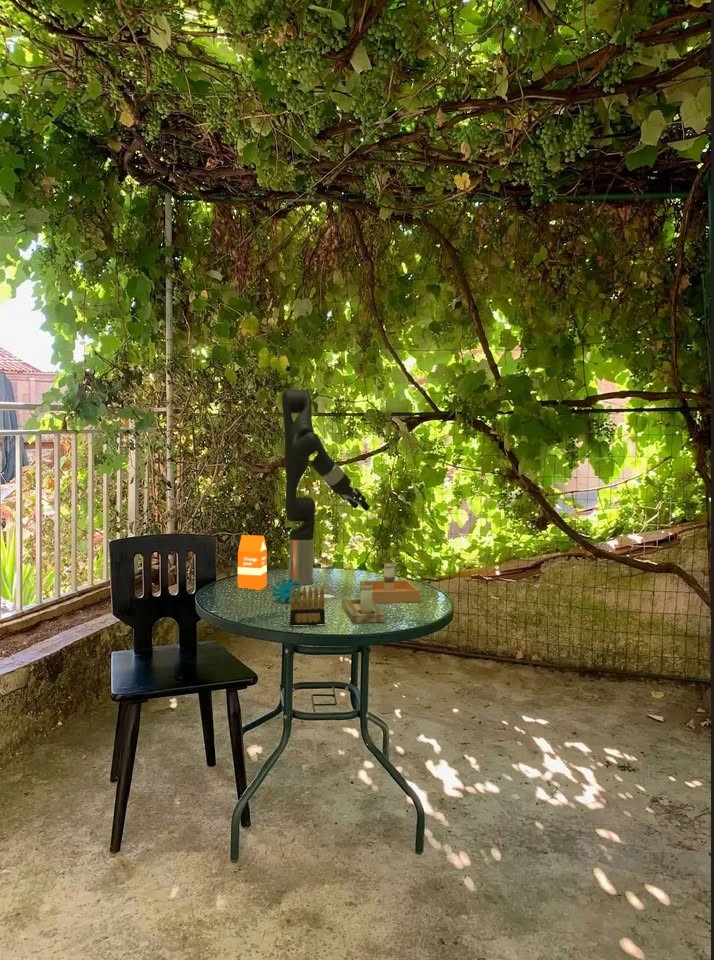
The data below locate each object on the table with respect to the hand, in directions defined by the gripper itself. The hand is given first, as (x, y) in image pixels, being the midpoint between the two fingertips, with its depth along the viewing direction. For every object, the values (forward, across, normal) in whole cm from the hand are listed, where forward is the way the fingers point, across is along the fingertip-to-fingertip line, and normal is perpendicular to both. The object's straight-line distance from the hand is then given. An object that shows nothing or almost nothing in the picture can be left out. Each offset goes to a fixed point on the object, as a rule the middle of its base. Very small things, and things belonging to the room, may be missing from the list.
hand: (362, 508), depth 262 cm
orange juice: (-4, +18, +48) cm, 51 cm away
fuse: (+8, -38, +36) cm, 53 cm away
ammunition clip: (-6, -36, +49) cm, 61 cm away
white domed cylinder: (+23, -15, +19) cm, 33 cm away
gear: (-1, -6, +45) cm, 45 cm away
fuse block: (+9, -32, +34) cm, 48 cm away
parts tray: (+24, -15, +20) cm, 34 cm away
